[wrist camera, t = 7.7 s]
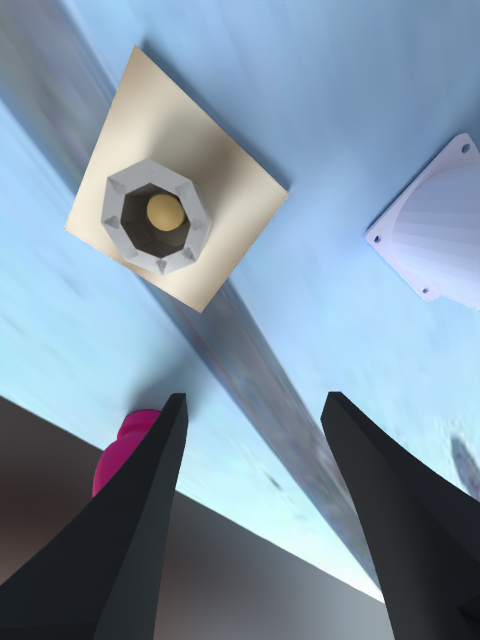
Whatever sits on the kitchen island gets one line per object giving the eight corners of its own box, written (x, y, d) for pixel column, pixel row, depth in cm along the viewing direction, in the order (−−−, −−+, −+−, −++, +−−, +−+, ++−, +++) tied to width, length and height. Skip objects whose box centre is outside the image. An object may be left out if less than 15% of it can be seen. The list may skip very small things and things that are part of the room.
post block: (286, 194, 16) (304, 191, 12) (201, 309, 19) (196, 332, 16) (140, 53, 12) (104, -10, 8) (71, 227, 16) (26, 234, 12)
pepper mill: (114, 440, 27) (-105, 900, 9) (124, 399, 24) (-175, 969, 6) (173, 450, 28) (85, 859, 11) (189, 414, 25) (103, 897, 8)
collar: (221, 241, 16) (220, 252, 12) (158, 267, 17) (140, 285, 13) (189, 159, 14) (176, 143, 10) (116, 193, 14) (80, 190, 11)
